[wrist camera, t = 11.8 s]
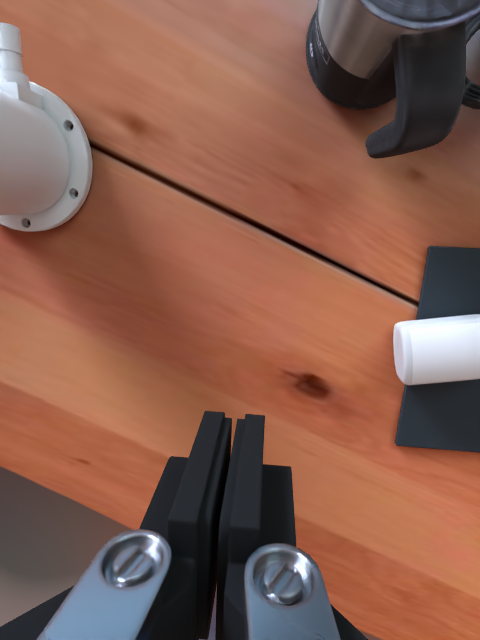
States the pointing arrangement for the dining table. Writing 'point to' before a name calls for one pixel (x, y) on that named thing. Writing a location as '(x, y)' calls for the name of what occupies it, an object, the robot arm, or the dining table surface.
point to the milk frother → (396, 64)
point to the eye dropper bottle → (437, 349)
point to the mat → (447, 397)
